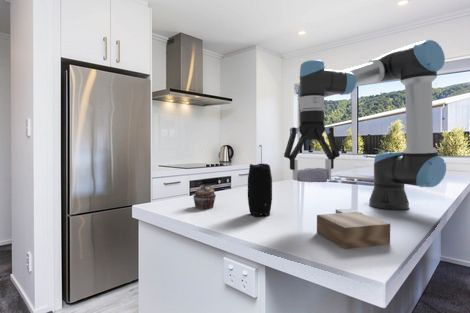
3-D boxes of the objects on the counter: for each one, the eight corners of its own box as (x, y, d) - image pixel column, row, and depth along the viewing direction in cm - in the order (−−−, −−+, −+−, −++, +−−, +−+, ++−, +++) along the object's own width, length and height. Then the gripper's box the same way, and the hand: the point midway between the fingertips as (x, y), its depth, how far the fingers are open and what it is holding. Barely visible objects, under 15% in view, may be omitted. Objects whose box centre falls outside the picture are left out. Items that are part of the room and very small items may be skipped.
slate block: (351, 223, 100) (352, 208, 100) (361, 228, 94) (361, 212, 94) (335, 223, 99) (335, 209, 99) (344, 228, 93) (344, 213, 93)
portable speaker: (273, 217, 108) (273, 164, 107) (248, 217, 108) (248, 165, 107) (270, 211, 117) (270, 163, 116) (247, 211, 117) (247, 163, 116)
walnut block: (356, 230, 92) (356, 211, 92) (389, 245, 79) (390, 223, 78) (316, 234, 89) (316, 214, 89) (344, 250, 75) (345, 227, 75)
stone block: (297, 187, 91) (330, 181, 89) (294, 172, 91) (327, 166, 89) (296, 183, 102) (325, 178, 101) (293, 170, 102) (322, 164, 101)
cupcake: (196, 204, 131) (196, 182, 131) (217, 205, 130) (217, 183, 129) (190, 209, 122) (190, 186, 121) (213, 210, 120) (212, 186, 120)
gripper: (280, 109, 88) (280, 181, 89) (351, 109, 91) (351, 180, 92) (274, 111, 95) (274, 178, 96) (340, 112, 98) (340, 177, 99)
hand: (311, 179), depth 94 cm, fingers closed on stone block, 10 cm apart
